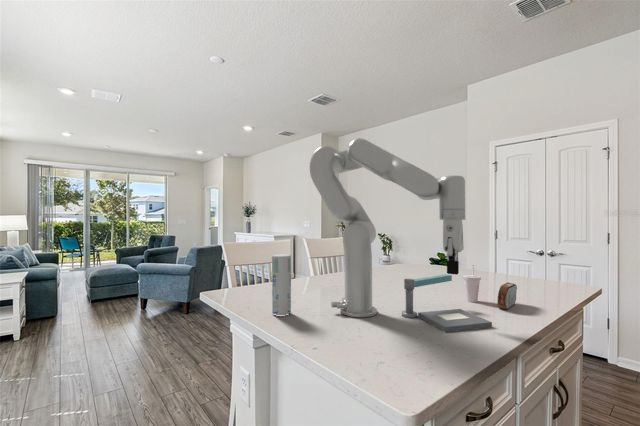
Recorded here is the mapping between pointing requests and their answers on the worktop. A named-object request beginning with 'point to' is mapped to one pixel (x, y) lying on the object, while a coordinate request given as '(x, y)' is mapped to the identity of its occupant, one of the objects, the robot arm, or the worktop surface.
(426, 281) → the swing bar
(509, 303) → the tin
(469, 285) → the smoothie
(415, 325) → the worktop surface
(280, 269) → the spray can
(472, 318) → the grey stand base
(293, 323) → the worktop surface
